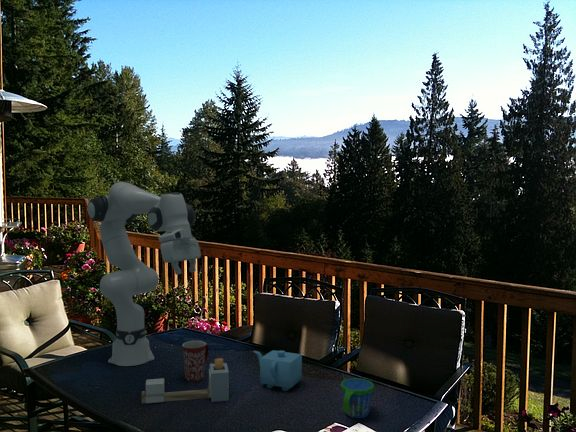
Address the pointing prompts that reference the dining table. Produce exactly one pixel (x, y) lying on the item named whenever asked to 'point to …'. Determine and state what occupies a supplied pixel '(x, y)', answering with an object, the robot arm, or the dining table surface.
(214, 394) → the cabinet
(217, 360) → the plunger
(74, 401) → the dining table surface
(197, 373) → the mug
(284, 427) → the dining table surface
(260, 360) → the teapot
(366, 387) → the snack cup
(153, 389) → the carriage
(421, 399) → the dining table surface
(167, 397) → the rail
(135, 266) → the robot arm
